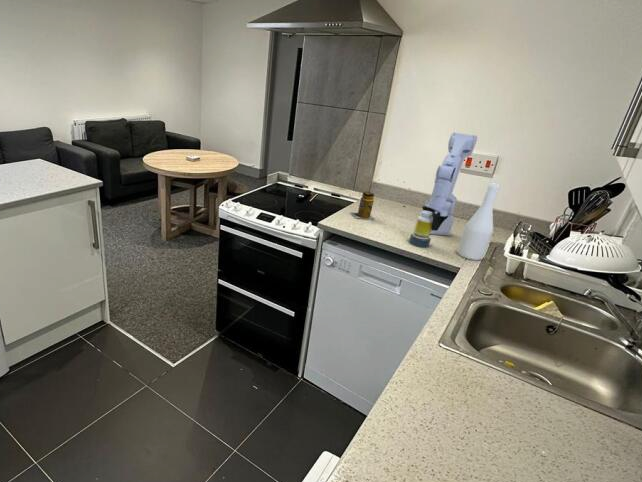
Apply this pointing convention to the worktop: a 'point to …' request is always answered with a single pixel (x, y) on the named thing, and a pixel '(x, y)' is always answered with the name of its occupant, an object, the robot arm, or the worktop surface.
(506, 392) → the worktop surface
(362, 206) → the condiment
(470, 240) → the wine bottle
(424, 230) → the pill bottle
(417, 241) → the tin
